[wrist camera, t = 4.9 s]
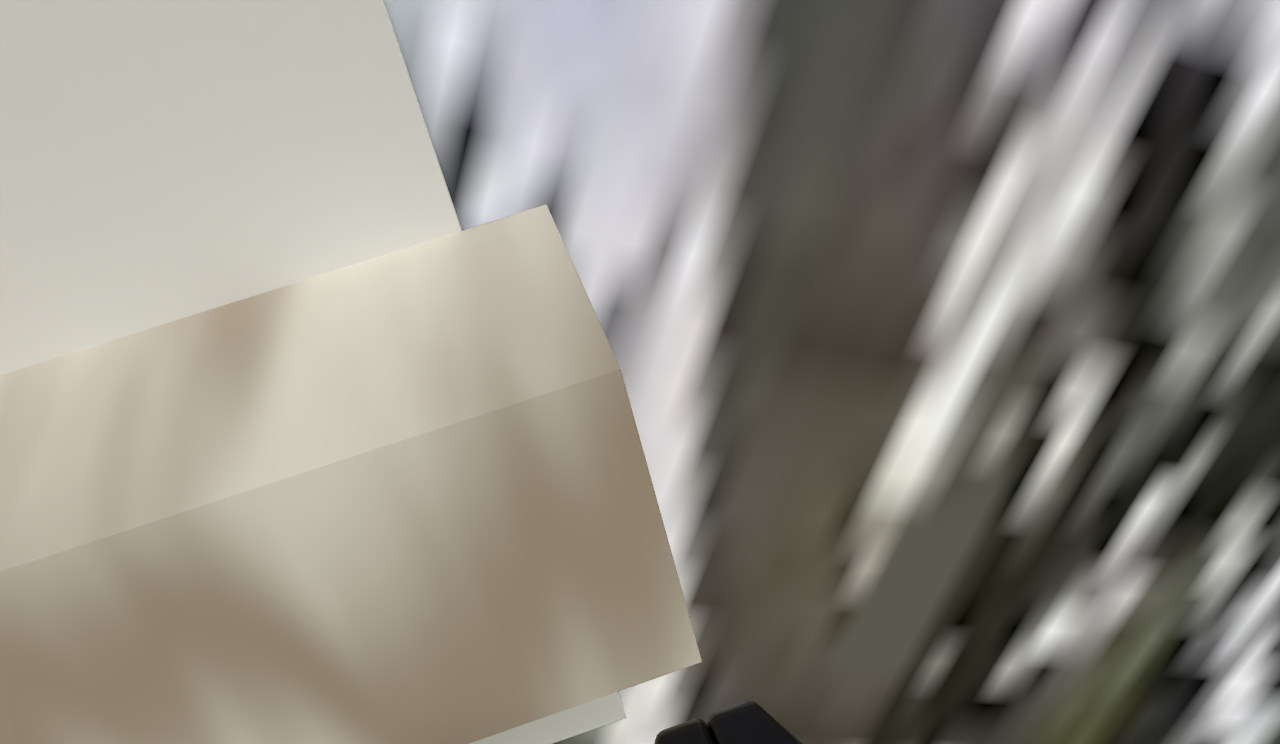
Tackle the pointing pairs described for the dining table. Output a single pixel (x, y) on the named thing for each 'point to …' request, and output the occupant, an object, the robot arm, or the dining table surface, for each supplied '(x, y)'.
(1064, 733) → the dining table surface
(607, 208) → the dining table surface
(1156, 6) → the dining table surface
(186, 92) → the beige flat slab
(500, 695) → the tall block
